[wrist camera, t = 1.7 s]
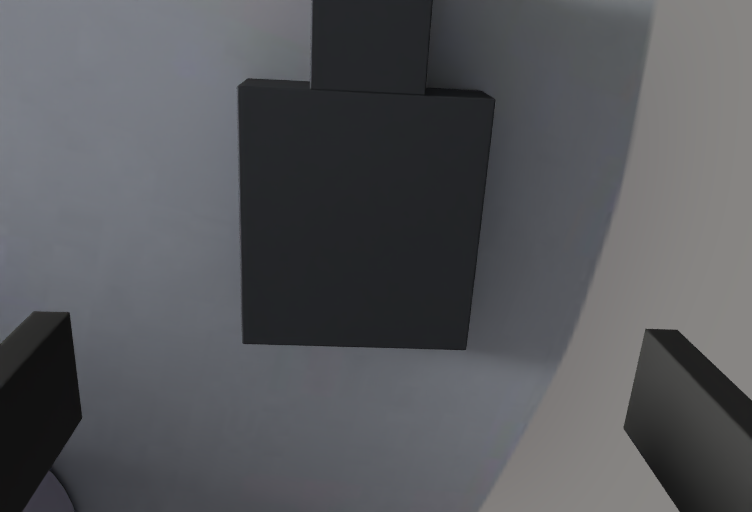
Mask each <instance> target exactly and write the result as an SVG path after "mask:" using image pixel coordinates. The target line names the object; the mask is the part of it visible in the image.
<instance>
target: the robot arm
mask: <svg viewBox="0 0 752 512" xmlns="http://www.w3.org/2000/svg"><path fill="white" fill-rule="evenodd" d="M81 419H82V412H81V404H80V396H79V387H78V379H77V371H76V362H75V354H74V346H73V337H72V329H71V320H70V312H38V311H34V312H33V313H32V314H31V315H30V316H29V317H28V318H26V319H25V320H24V321H23V322H22V323H21V324H20V325H19V326H18V327H17V328H16V329H15V330H14V331H13V332H12V333H11V334H10V335H9V336H8V337H7V338H6V339H5V340H4V341H3V342H2V343H1V344H0V512H23V510H24V508H25V507H26V505H27V504H28V502H29V501H30V499H31V497H32V496H33V494H34V493H35V491H36V490H37V488H38V487H39V485H40V483H41V482H42V480H43V479H44V477H45V476H46V474H47V472H48V471H49V469H50V468H51V466H52V465H53V463H54V462H55V460H56V458H57V457H58V455H59V454H60V452H61V451H62V449H63V447H64V446H65V444H66V443H67V441H68V440H69V438H70V437H71V435H72V433H73V432H74V430H75V429H76V427H77V426H78V424H79V422H80V421H81ZM624 430H625V431H626V433H627V434H628V436H629V437H630V439H631V440H632V442H633V443H634V445H635V446H636V447H637V449H638V451H639V452H640V454H641V455H642V456H643V458H644V459H645V461H646V462H647V464H648V465H649V467H650V468H651V470H652V471H653V473H654V474H655V476H656V477H657V479H658V480H659V482H660V483H661V484H662V486H663V487H664V489H665V491H666V492H667V494H668V495H669V496H670V498H671V499H672V501H673V502H674V504H675V505H676V507H677V508H678V510H679V511H680V512H752V400H751V399H749V398H748V397H747V396H746V395H745V394H744V393H743V392H742V391H741V390H740V389H739V388H738V387H737V386H736V385H735V384H734V383H733V382H732V381H730V380H729V379H728V378H727V377H726V376H725V375H724V374H723V373H722V372H721V371H720V370H719V369H718V368H717V367H716V366H715V365H714V364H712V362H711V361H709V360H708V359H707V358H706V357H705V356H704V355H703V354H702V353H701V352H700V351H699V350H698V349H697V348H696V347H694V346H693V344H691V343H690V342H689V341H688V340H687V339H686V338H685V337H684V336H683V335H682V334H681V333H680V332H679V331H678V330H665V329H664V330H663V329H646V330H645V334H644V338H643V343H642V348H641V352H640V356H639V361H638V365H637V370H636V374H635V379H634V383H633V388H632V392H631V397H630V401H629V406H628V410H627V415H626V419H625V424H624Z"/></svg>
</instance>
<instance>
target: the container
mask: <svg viewBox="0 0 752 512" xmlns="http://www.w3.org/2000/svg"><path fill="white" fill-rule="evenodd" d="M23 512H74V507H73V505H72V503H71V501H70V499H69V497H68V495H67V493H66V491H65V489H64V488H63V486H62V485H61V484H60V482H59V481H58V480H57V479H56V477H55V476H54V475H53V473H51V472H50V471H48V472H47V474H46V476H45V477H44V479H43V480H42V482H41V483H40V485H39V487H38V488H37V490H36V491H35V493H34V494H33V496H32V497H31V499H30V501H29V502H28V504H27V505H26V507H25V508H24V510H23Z"/></svg>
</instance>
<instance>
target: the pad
mask: <svg viewBox="0 0 752 512" xmlns="http://www.w3.org/2000/svg"><path fill="white" fill-rule="evenodd" d="M432 3H433V0H312V7H311V60H310V82H306V81H287V80H268V79H249V78H248V79H246V80H245V81H244V82H242V83H241V84H240V85H238V86H237V118H238V168H239V217H240V266H241V316H242V343H243V344H268V345H303V346H338V347H374V348H409V349H444V350H466V346H467V338H468V329H469V321H470V313H471V304H472V296H473V287H474V279H475V270H476V262H477V253H478V245H479V236H480V228H481V219H482V211H483V202H484V194H485V186H486V177H487V169H488V160H489V152H490V143H491V135H492V126H493V118H494V109H495V99H494V98H492V97H491V96H489V95H487V94H486V93H484V92H483V91H479V90H460V89H441V88H426V78H427V65H428V53H429V40H430V28H431V15H432Z"/></svg>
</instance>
